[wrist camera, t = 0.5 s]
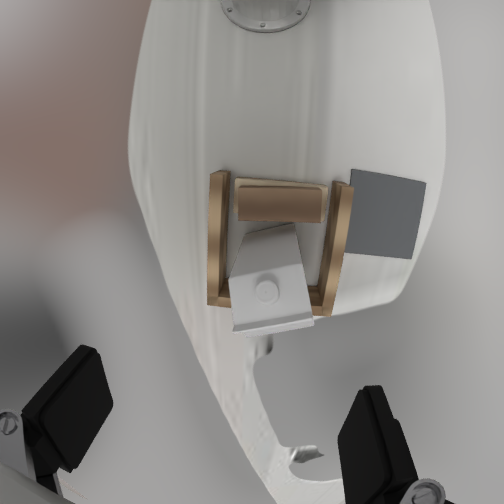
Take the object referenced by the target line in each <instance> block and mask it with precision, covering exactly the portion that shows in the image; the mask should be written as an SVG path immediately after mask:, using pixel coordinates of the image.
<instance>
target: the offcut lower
mask: <svg viewBox="0 0 504 504" xmlns="http://www.w3.org/2000/svg"><path fill="white" fill-rule="evenodd" d="M241 185H258V186H295V187H318V188H320V189H321V190H322V207H321V221H324V219H325V211H326V203H327V195H328V187H327V186H325V185H319V184H310V183H302V182H292V181H282V180H272V179H260V178H247V177H237V178H235V189H234V206H233V213H238V188H239V187H240V186H241Z"/></svg>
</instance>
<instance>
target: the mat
mask: <svg viewBox="0 0 504 504" xmlns="http://www.w3.org/2000/svg"><path fill="white" fill-rule="evenodd" d="M350 186H351V187H353V188H354V193H353V200H352V207H351V214H350V220H349V227H348V233H347V239H346V245H345V250H344V252H345V253H355V254H365V255H375V256H384V257H394V258H404V259H412V255H413V251H414V247H415V242H416V238H417V233H418V228H419V223H420V218H421V213H422V207H423V201H424V195H425V189H426V183H424V182H420V181H415V180H410V179H405V178H400V177H395V176H390V175H384V174H379V173H373V172H367V171H361V170H355V169H352V171H351V179H350Z"/></svg>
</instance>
